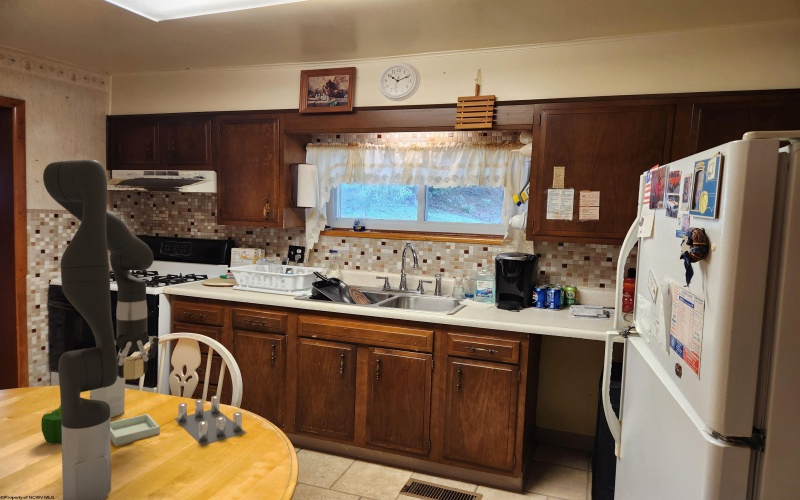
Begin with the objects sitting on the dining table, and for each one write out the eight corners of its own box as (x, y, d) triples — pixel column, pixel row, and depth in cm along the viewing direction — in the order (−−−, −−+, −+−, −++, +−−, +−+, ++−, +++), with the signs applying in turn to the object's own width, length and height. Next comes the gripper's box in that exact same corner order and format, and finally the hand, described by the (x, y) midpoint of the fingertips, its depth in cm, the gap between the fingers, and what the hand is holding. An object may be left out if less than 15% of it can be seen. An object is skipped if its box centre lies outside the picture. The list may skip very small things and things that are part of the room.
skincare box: (89, 414, 154) (88, 364, 153) (110, 407, 160) (109, 359, 159) (105, 420, 151) (105, 369, 149) (126, 412, 156) (126, 364, 155)
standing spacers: (243, 430, 146) (243, 414, 146) (200, 442, 138) (200, 425, 137) (217, 410, 160) (217, 395, 159) (177, 420, 151) (177, 404, 151)
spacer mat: (246, 434, 145) (246, 432, 145) (201, 447, 136) (201, 445, 136) (216, 409, 161) (216, 408, 161) (173, 420, 152) (173, 418, 152)
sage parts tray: (159, 435, 143) (159, 426, 142) (115, 446, 135) (115, 437, 135) (147, 421, 151) (147, 413, 151) (105, 431, 143) (105, 423, 143)
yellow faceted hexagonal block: (144, 377, 141) (144, 359, 141) (125, 380, 138) (125, 363, 137) (138, 371, 145) (138, 354, 145) (119, 375, 142) (119, 357, 141)
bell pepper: (60, 449, 132) (59, 413, 131) (34, 445, 134) (33, 409, 133) (86, 435, 140) (85, 401, 140) (61, 432, 142) (60, 397, 141)
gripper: (106, 321, 132) (106, 384, 134) (163, 315, 142) (163, 374, 143) (99, 316, 138) (100, 376, 139) (155, 311, 148) (155, 367, 149)
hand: (132, 375), depth 141 cm, fingers closed on yellow faceted hexagonal block, 5 cm apart
